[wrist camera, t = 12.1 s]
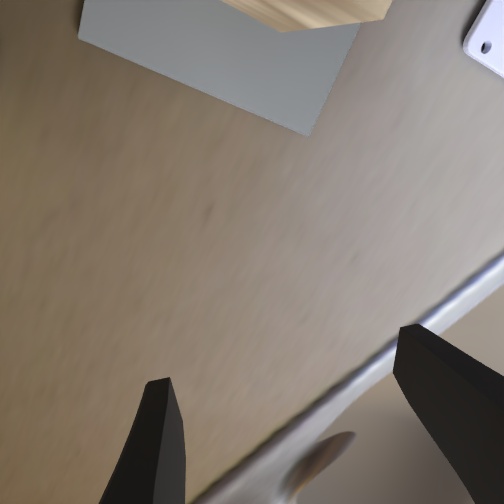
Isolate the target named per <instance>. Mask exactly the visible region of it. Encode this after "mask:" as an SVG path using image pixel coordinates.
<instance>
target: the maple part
mask: <svg viewBox="0 0 504 504" xmlns="http://www.w3.org/2000/svg"><path fill="white" fill-rule="evenodd" d="M221 1H223V2H224V3H226V4H228V5H230V6H232V7H234V8H236V9H238V10H240V11H241V12H243V13H245V14H247V15H249V16H251V17H253V18H255V19H257V20H258V21H260V22H262V23H264V24H266V25H268V26H270V27H272V28H274V29H276V30H277V31H279V32H281V33H283V32H291V31H298V30H306V29H314V28H322V27H329V26H337V25H345V24H353V23H360V22H368V21H376V20H383V19H384V17H385V15H386V13H387V11H388V9H389V7H390V4H391V2H392V0H221Z"/></svg>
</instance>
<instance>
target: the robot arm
mask: <svg viewBox="0 0 504 504" xmlns="http://www.w3.org/2000/svg"><path fill="white" fill-rule="evenodd" d="M483 43H485V48H484V50H483V51H482V52H481V47H482V44H483ZM463 49H464V52H465V53H466V54H467V55H469V56H470V57H472V58H473V59H475V60H477V61H478V62H480V63H481V64H483V65H484V66H486V67H487V68H489V69H491V70H492V71H494V72H495V73H497V74H498V75H500V76H501V77H503V78H504V0H487V1H486V2H485V4H484V6H483V8H482V9H481V11H480V13H479V15H478V16H477V18H476V20H475V22H474V23H473V25H472V27H471V29H470V30H469V32H468V34H467V36H466V37H465V40H464V42H463ZM393 374H394V376H395V378H396V380H397V382H398V384H399V386H400V388H401V390H402V392H403V394H404V395H405V397H406V399H407V401H408V403H409V404H410V406H411V407H412V409H413V410H414V412H415V413H416V414H417V416H418V417H419V419H420V421H421V422H422V423H423V425H424V426H425V428H426V429H427V431H428V432H429V434H430V435H431V437H432V438H433V439H434V441H435V442H436V444H437V445H438V447H439V448H440V450H441V451H442V452H443V454H444V455H445V457H446V458H447V459H448V461H449V463H450V464H451V466H452V467H453V468H454V470H455V471H456V472H457V474H458V476H459V477H460V479H461V481H462V482H463V484H464V485H465V487H466V488H467V490H468V492H469V494H470V495H471V497H472V499H473V501H474V502H475V504H504V376H502V375H500V374H499V373H497V372H495V371H494V370H492V369H491V368H489V367H487V366H485V365H484V364H482V363H481V362H479V361H477V360H476V359H474V358H472V357H471V356H469V355H468V354H466V353H464V352H463V351H461V350H459V349H458V348H456V347H455V346H453V345H451V344H450V343H448V342H447V341H445V340H444V339H442V338H440V337H439V336H437V335H436V334H434V333H433V332H431V331H429V330H428V329H426V328H425V327H423V326H421V325H419V324H414V325H409V326H404V327H400V331H399V337H398V343H397V349H396V355H395V361H394V367H393ZM185 472H186V455H185V442H184V430H183V420H182V417H181V414H180V410H179V407H178V403H177V400H176V396H175V393H174V390H173V386H172V383H171V379H170V377H168V378H163V379H159V380H154V381H149V382H148V383H147V384H146V385H145V389H144V393H143V396H142V399H141V402H140V405H139V408H138V411H137V414H136V417H135V420H134V422H133V425H132V428H131V431H130V433H129V436H128V438H127V441H126V443H125V446H124V448H123V450H122V453H121V455H120V458H119V460H118V463H117V465H116V467H115V469H114V471H113V474H112V476H111V478H110V480H109V482H108V485H107V487H106V489H105V491H104V493H103V495H102V498H101V500H100V502H99V504H185Z"/></svg>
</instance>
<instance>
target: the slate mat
mask: <svg viewBox="0 0 504 504" xmlns="http://www.w3.org/2000/svg"><path fill="white" fill-rule="evenodd" d="M361 23H362V22H360V23H353V24H345V25H337V26H329V27H322V28H314V29H306V30H298V31H291V32H283V33H281V32H279V31H277V30H276V29H274V28H272V27H270V26H268V25H266V24H264V23H262V22H260V21H258V20H257V19H255V18H253V17H251V16H249V15H247V14H245V13H243V12H241V11H240V10H238V9H236V8H234V7H232V6H230V5H228V4H226V3H224V2H223V1H221V0H85V1H84V6H83V11H82V17H81V22H80V28H79V33H78V39H81V40H83V41H85V42H88V43H90V44H92V45H95V46H97V47H99V48H102V49H104V50H106V51H109V52H111V53H113V54H116V55H118V56H120V57H123V58H125V59H127V60H130V61H132V62H134V63H137V64H139V65H141V66H144V67H146V68H148V69H151V70H153V71H155V72H158V73H160V74H162V75H165V76H167V77H169V78H172V79H174V80H176V81H179V82H181V83H183V84H186V85H188V86H190V87H193V88H195V89H197V90H200V91H202V92H204V93H207V94H209V95H211V96H214V97H216V98H218V99H221V100H223V101H225V102H228V103H230V104H232V105H235V106H237V107H239V108H242V109H244V110H246V111H249V112H251V113H253V114H256V115H258V116H260V117H263V118H265V119H267V120H270V121H272V122H274V123H277V124H279V125H281V126H284V127H286V128H288V129H291V130H293V131H295V132H298V133H300V134H302V135H305V136H307V137H309V136H310V133H311V131H312V129H313V127H314V125H315V123H316V120H317V118H318V116H319V114H320V112H321V110H322V107H323V105H324V103H325V101H326V99H327V97H328V94H329V92H330V90H331V88H332V86H333V84H334V82H335V79H336V77H337V75H338V73H339V71H340V69H341V66H342V64H343V62H344V60H345V58H346V56H347V53H348V51H349V49H350V47H351V45H352V43H353V40H354V38H355V36H356V34H357V32H358V30H359V27H360V25H361Z"/></svg>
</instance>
